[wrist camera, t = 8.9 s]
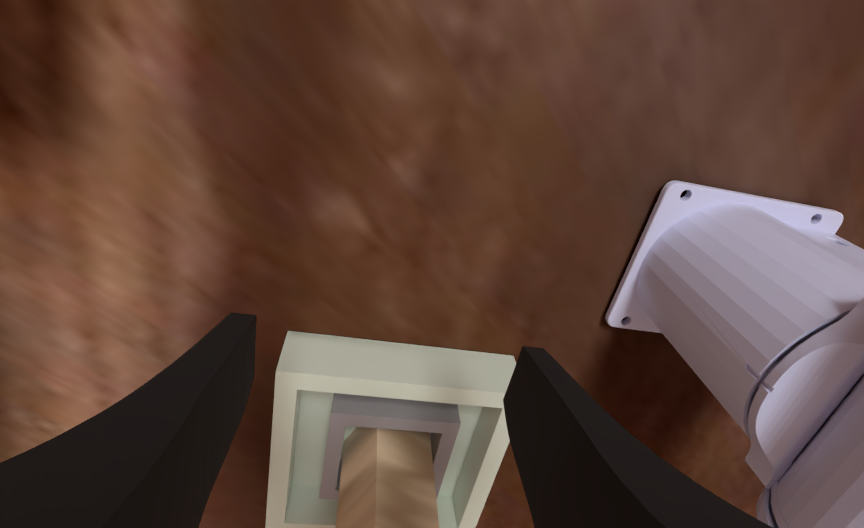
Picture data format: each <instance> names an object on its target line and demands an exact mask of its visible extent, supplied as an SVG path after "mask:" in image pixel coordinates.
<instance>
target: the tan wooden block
mask: <svg viewBox="0 0 864 528" xmlns="http://www.w3.org/2000/svg"><path fill="white" fill-rule="evenodd" d="M336 528H439V520H438V510H437V500H436V490H435V480H434V470H433V460H432V450H431V439H430V432H418V431H405V430H393V429H381V428H368V427H356V428H355V430H354V431H353V432H352V433H351V434H350V435H349V436H348V437H347V439H346V440H345V441H344V447H343V457H342V467H341V477H340V488H339V498H338V508H337V518H336Z"/></svg>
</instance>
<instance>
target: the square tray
mask: <svg viewBox="0 0 864 528" xmlns="http://www.w3.org/2000/svg"><path fill="white" fill-rule="evenodd" d="M515 366H516V362H515V359H514V356H511V355H502V354H493V353H484V352H475V351H466V350H457V349H448V348H439V347H430V346H421V345H412V344H403V343H394V342H385V341H376V340H367V339H358V338H349V337H340V336H331V335H322V334H313V333H304V332H295V331H288V332H287V335H286V339H285V342H284V345H283V349H282V352H281V355H280V359H279V362H278V365H277V369H276V376H275V391H274V406H273V421H272V436H271V451H270V466H269V481H268V496H267V511H266V526H265V528H336V518H337V508H338V498H339V488H340V477H341V467H342V457H343V447H344V441H345V440H346V439H347V437H348V436H349V435H350V434H351V433H352V432H353V431H354V430H355V428H356V427H368V428H381V429H393V430H405V431H418V432H430V439H431V450H432V460H433V470H434V480H435V490H436V500H437V510H438V520H439V528H475V527H476V525H477V522H478V520H479V517H480V515H481V512H482V510H483V507H484V504H485V502H486V499H487V497H488V494H489V492H490V489H491V487H492V484H493V482H494V479H495V477H496V474H497V472H498V469H499V466H500V464H501V461H502V459H503V456H504V454H505V451H506V449H507V446H508V444H509V441H510V439H509V435H508V430H507V424H506V418H505V411H504V404H503V399H504V396H505V393H506V391H507V388H508V385H509V382H510V380H511V377H512V374H513V371H514V369H515Z"/></svg>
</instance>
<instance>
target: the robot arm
mask: <svg viewBox="0 0 864 528" xmlns="http://www.w3.org/2000/svg"><path fill="white" fill-rule="evenodd" d="M685 190H687V193H686V194H685V196H683V197H681V198H680V195H681V193H682V192H683V191H685ZM814 215H815V216H814ZM813 216H814V218H813V219H811V218H812V217H813ZM842 222H843V215H842V214H841V213H839V212H837V211H835V210H831V209H826V208H821V207H815V206H810V205H805V204H799V203H794V202H789V201H783V200H778V199H773V198H767V197H762V196H757V195H751V194H746V193H741V192H735V191H730V190H725V189H719V188H714V187H709V186H703V185H698V184H693V183H687V182H682V181H670V182H668V183H667V184H666V185H665V186H664V187H663V189H662V191H661V193H660V195H659V197H658V200H657V202H656V204H655V206H654V209H653V211H652V213H651V215H650V218H649V220H648V222H647V224H646V226H645V229H644V231H643V233H642V235H641V238H640V240H639V242H638V244H637V246H636V249H635V251H634V253H633V255H632V258H631V260H630V262H629V264H628V267H627V269H626V271H625V273H624V275H623V278H622V280H621V282H620V284H619V287H618V289H617V291H616V293H615V295H614V298H613V300H612V302H611V304H610V307H609V309H608V311H607V313H606V316H605V319H606V322H607V323H608V324H609V325H610V326H612V327H617V328H625V329H633V330H641V331H649V332H656V333H662V334H663V335H664V336H665V337H666V338H667V340H668V341H669V342H670V343H671V344H672V346H673V347H674V348H675V349H676V350H677V352H678V353H679V354H680V355H681V357H682V358H683V359H684V360H685V361H686V363H687V364H688V365H689V366H690V367H691V369H692V370H693V371H694V372H695V373H696V375H697V376H698V377H699V378H700V379H701V381H702V382H703V383H704V384H705V386H706V387H707V388H708V389H709V390H710V392H711V393H712V394H713V395H714V396H715V398H716V399H717V400H718V401H719V402H720V404H721V405H722V406H723V407H724V408H725V410H726V411H727V412H728V413H729V415H730V416H731V417H732V418H733V419H734V421H735V422H736V423H737V424H738V425H739V427H740V428H741V429H742V430H743V431H744V433H745V434H746V435H747V436H748V437H749V439H750V440H751V448H750V450H749V452H748V454H747V456H746V457H745V461H746V462H747V464H748V465H749V466H750V468H751V469H752V470H753V471H754V473H755V474H756V475H757V477H758V478H759V479H760V480H761V482H762V483H763V484H764V486H765V487H766V488H765V489H764V490H763V491H762V493H761V494H760V496H759V499H758V502H757V507H756V516H757V519H756V518H754V517H752V516H750V515H748V514H747V513H745V512H743V511H741V510H740V509H738V508H736V507H735V506H733V505H731V504H730V503H728V502H726V501H725V500H723V499H721V498H720V497H718V496H716V495H715V494H713V493H712V492H710V491H708V490H707V489H705V488H704V487H702V486H701V485H699V484H697V483H696V482H694V481H693V480H692V479H690V478H689V477H687V476H686V475H684V474H683V473H681V472H680V471H679V470H677V469H676V468H674V467H673V466H671V465H670V464H669V463H667V462H666V461H665V460H663V459H662V458H660V457H659V456H658V455H657V454H655V453H654V452H653V451H652V450H650V449H649V448H648V447H647V446H645V445H644V444H643V443H641V442H640V441H639V440H638V439H636V438H635V437H634V436H633V435H632V434H631V433H629V432H628V431H627V430H626V429H625V428H624V427H623V426H621V425H620V424H619V423H618V422H617V421H616V420H615V419H614V418H613V417H612V416H610V415H609V414H608V413H607V412H606V411H605V410H604V409H603V408H602V407H601V406H600V405H599V404H598V403H597V402H596V401H595V400H594V399H593V398H592V397H591V396H590V395H589V394H588V393H587V392H586V391H585V390H584V389H583V388H582V387H581V386H580V385H579V384H578V383H577V382H576V381H575V380H574V379H573V378H572V377H571V376H570V375H569V374H568V373H567V372H566V371H565V370H564V369H563V368H562V367H561V366H560V365H559V363H558V362H557V361H556V360H555V359H554V358H553V357H552V356H551V355H550V354H549V353H547V352H546V351H545V350H544V349H543V348H535V347H526V346H523V347H522V349H521V352H520V355H519V358H518V360H517V363H516V366H515V369H514V371H513V374H512V377H511V380H510V382H509V385H508V388H507V391H506V393H505V396H504V399H503V404H504V411H505V418H506V424H507V430H508V435H509V439H510V443H511V446H512V450H513V453H514V457H515V460H516V464H517V467H518V470H519V474H520V477H521V480H522V484H523V487H524V491H525V494H526V497H527V501H528V504H529V507H530V511H531V515H532V519H533V523H534V527H535V528H864V250H863V249H862V248H860V247H858V246H856V245H854V244H852V243H850V242H848V241H846V240H844V239H842V238H841V237H839V236H837V235H835V233H836V231H837V230H838V228H839V227H840V225H841V224H842ZM625 317H627V318H626V319H625V320H623V321H621V320H622V319H623V318H625ZM255 340H256V315H248V314H239V313H230V314H229V315H227V316H226V317H225V318H224V319H223V320H222V321H221V322H220V323H219V324H218V325H216V326H215V327H214V328H213V329H212V330H211V331H210V332H209V333H208V334H207V335H205V336H204V337H203V338H202V339H201V340H200V341H199V342H197V343H196V344H195V345H194V346H193V347H192V348H190V349H189V350H188V351H187V352H185V353H184V354H183V355H182V356H181V357H179V358H178V359H177V360H176V361H175V362H173V363H172V364H171V365H170V366H168V367H167V368H165V369H164V370H163V371H161V372H160V373H159V374H157V375H156V376H155V377H153V378H152V379H151V380H149V381H148V382H147V383H145V384H144V385H143V386H141V387H140V388H138V389H137V390H135V391H134V392H132V393H131V394H129V395H128V396H126V397H125V398H123V399H122V400H120V401H119V402H117V403H115V404H114V405H112V406H111V407H109V408H107V409H106V410H104V411H103V412H101V413H99V414H97V415H96V416H94V417H92V418H90V419H88V420H86V421H85V422H83V423H81V424H79V425H77V426H75V427H73V428H72V429H70V430H68V431H66V432H64V433H62V434H61V435H59V436H57V437H55V438H53V439H51V440H49V441H47V442H45V443H43V444H40V445H38V446H36V447H34V448H32V449H30V450H28V451H26V452H24V453H21V454H19V455H17V456H15V457H13V458H10V459H8V460H6V461H4V462H1V463H0V528H198V527H199V524H200V521H201V518H202V515H203V511H204V509H205V506H206V503H207V501H208V498H209V495H210V492H211V490H212V488H213V485H214V483H215V481H216V478H217V476H218V473H219V471H220V469H221V466H222V464H223V461H224V459H225V457H226V454H227V452H228V450H229V447H230V445H231V442H232V440H233V438H234V435H235V433H236V430H237V428H238V426H239V423H240V421H241V418H242V416H243V413H244V411H245V407H246V404H247V400H248V397H249V393H250V389H251V386H252V382H253V379H254V365H255Z"/></svg>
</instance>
